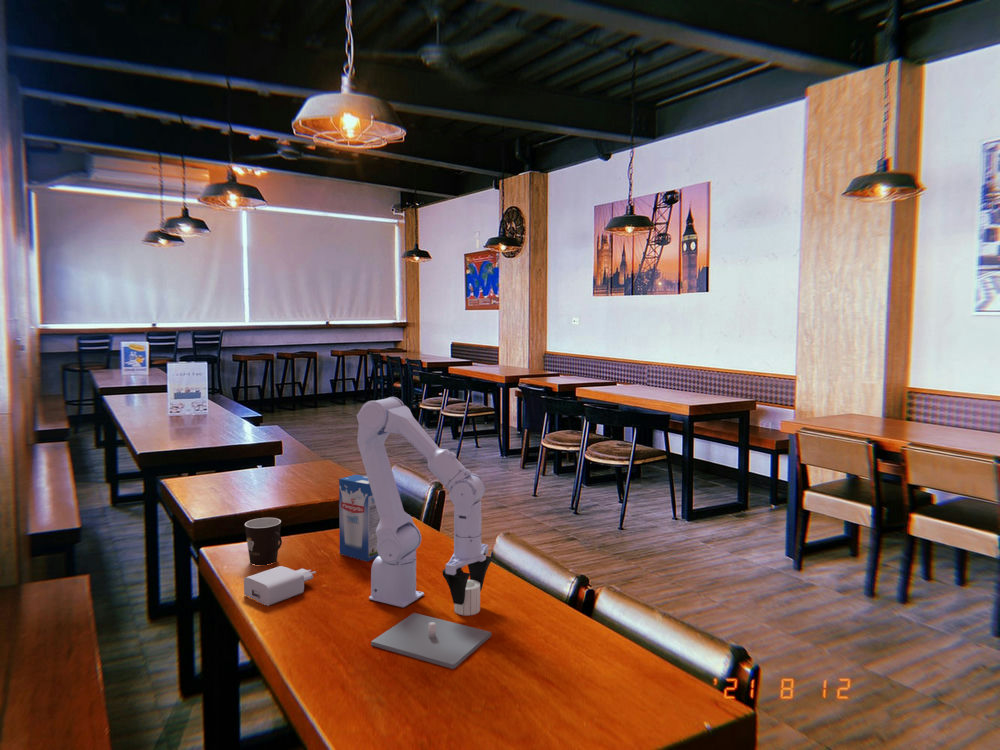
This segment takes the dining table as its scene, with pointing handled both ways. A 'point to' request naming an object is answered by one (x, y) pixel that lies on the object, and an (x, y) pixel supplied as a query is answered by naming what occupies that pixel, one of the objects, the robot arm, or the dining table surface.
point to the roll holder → (432, 640)
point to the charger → (276, 584)
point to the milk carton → (357, 518)
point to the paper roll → (470, 599)
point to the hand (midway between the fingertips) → (467, 596)
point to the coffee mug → (263, 540)
